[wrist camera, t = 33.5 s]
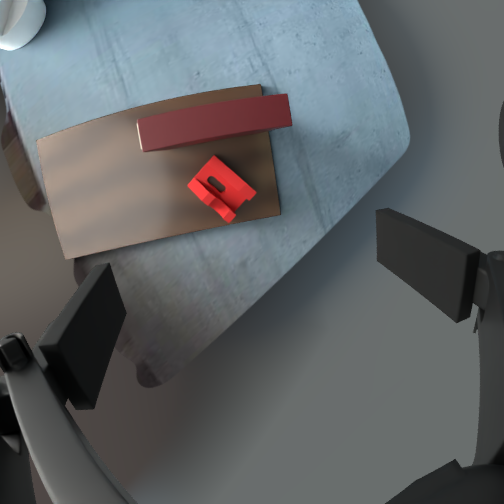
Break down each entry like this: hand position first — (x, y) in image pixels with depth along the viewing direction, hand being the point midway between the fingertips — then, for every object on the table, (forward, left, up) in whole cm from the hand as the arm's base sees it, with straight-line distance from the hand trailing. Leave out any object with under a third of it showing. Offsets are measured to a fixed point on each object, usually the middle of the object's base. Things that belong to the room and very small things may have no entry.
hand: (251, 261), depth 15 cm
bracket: (0, 0, -26) cm, 26 cm away
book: (+5, -4, -25) cm, 26 cm away
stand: (+8, +4, -27) cm, 28 cm away
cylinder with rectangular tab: (+40, -2, -27) cm, 49 cm away
